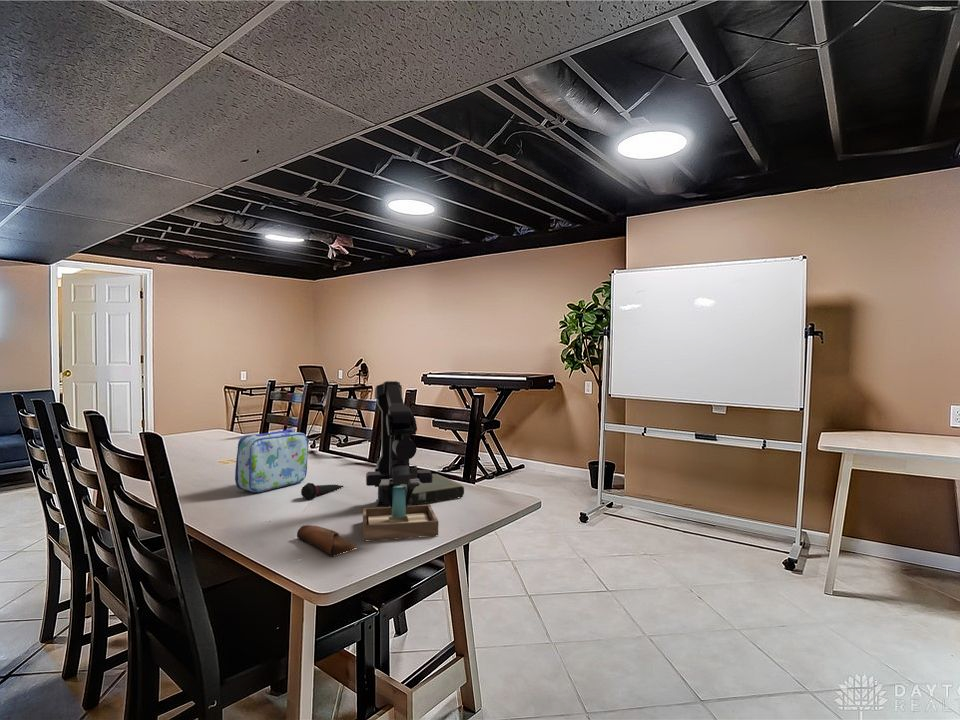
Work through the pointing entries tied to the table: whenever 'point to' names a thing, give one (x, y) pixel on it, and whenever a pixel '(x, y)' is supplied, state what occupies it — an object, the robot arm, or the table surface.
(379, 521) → the open box
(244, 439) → the lunch box
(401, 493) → the peg
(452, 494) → the network switch
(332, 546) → the sunglasses case
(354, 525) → the table surface
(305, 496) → the microphone
